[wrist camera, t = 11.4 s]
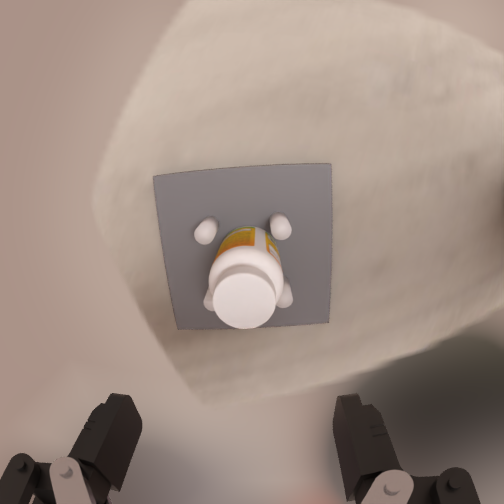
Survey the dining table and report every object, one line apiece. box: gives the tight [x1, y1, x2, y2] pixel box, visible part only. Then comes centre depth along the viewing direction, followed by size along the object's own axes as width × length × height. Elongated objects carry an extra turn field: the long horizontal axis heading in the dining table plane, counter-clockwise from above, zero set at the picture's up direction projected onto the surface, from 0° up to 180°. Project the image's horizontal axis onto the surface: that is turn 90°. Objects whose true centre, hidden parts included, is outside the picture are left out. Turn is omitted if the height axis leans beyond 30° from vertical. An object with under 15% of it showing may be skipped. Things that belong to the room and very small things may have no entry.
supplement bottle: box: [209, 226, 284, 329], centre depth 23 cm, size 5×5×10 cm
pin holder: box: [153, 163, 332, 329], centre depth 26 cm, size 16×16×5 cm
